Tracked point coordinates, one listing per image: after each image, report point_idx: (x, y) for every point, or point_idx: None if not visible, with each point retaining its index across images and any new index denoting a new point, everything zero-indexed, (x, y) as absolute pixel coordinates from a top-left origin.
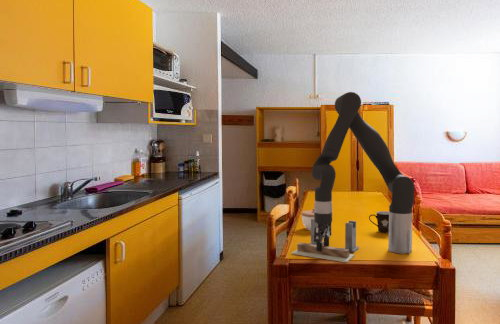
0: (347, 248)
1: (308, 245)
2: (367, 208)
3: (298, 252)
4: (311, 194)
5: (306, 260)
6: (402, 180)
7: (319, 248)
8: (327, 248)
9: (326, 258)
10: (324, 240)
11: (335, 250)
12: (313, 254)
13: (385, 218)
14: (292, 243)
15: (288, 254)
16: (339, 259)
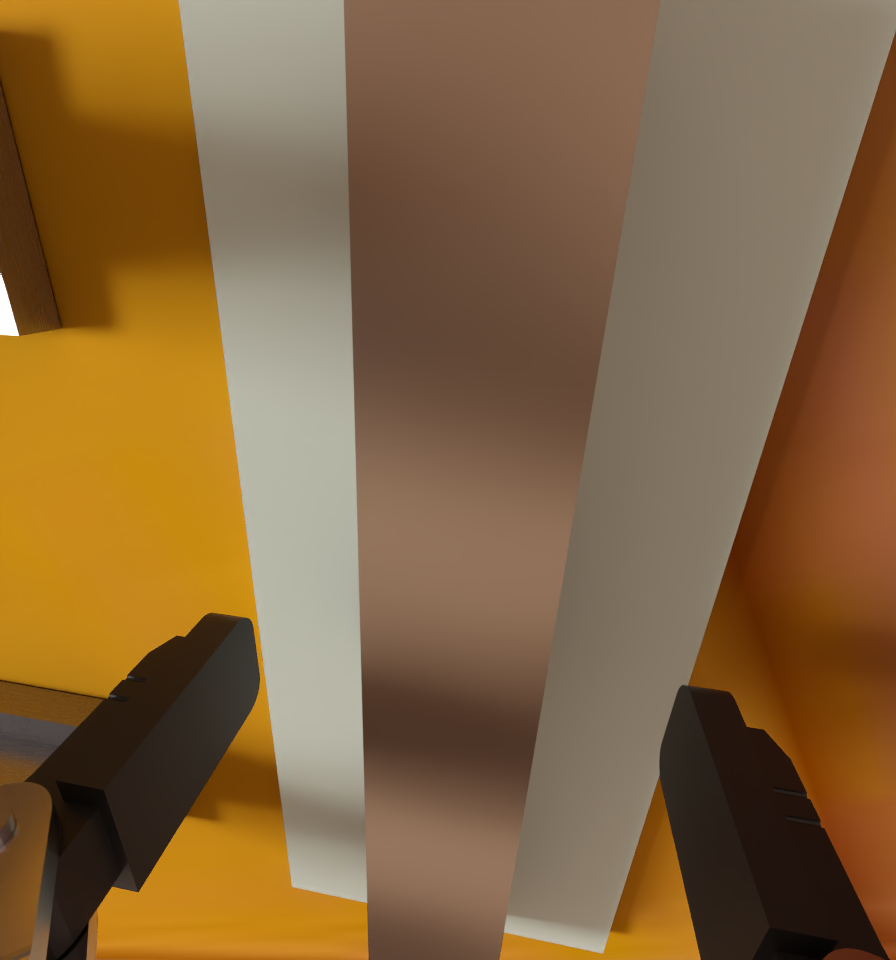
0: None
1: (487, 936)
2: None
3: (564, 899)
4: None
5: (892, 767)
6: None
7: (796, 798)
8: (553, 617)
9: (743, 498)
10: (180, 808)
11: (594, 379)
12: (585, 734)
13: None
14: (183, 941)
15: (636, 956)
16: (810, 170)
